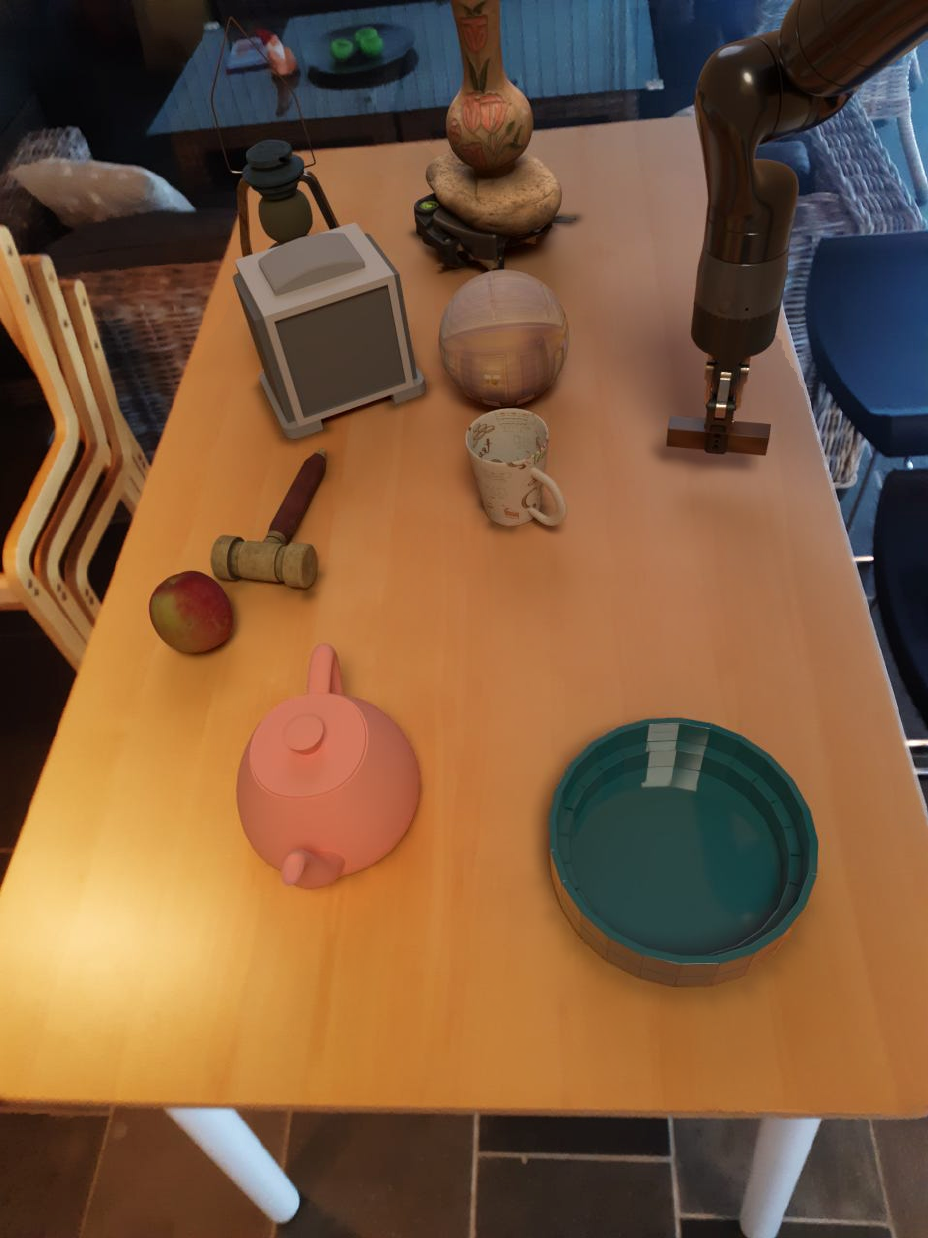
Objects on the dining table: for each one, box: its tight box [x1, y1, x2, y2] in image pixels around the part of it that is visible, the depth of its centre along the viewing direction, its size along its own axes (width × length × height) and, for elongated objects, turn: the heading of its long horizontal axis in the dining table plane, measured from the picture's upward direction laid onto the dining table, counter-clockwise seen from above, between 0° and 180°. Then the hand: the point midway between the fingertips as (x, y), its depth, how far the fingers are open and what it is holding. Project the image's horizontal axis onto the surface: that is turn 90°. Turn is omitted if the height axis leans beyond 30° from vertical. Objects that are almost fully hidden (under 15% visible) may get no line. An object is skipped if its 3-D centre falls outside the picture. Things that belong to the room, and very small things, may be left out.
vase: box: [413, 0, 577, 272], centre depth 116 cm, size 24×22×35 cm
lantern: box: [209, 16, 341, 257], centre depth 111 cm, size 14×12×35 cm
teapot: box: [235, 643, 421, 890], centre depth 70 cm, size 22×15×12 cm
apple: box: [148, 570, 234, 654], centre depth 85 cm, size 8×8×8 cm
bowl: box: [548, 717, 819, 988], centre depth 67 cm, size 19×19×6 cm
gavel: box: [209, 447, 327, 589], centre depth 96 cm, size 21×5×10 cm
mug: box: [464, 408, 568, 527], centre depth 90 cm, size 8×13×10 cm, turn 43°
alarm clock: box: [232, 221, 427, 440], centre depth 104 cm, size 18×13×18 cm
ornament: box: [438, 269, 570, 407], centre depth 101 cm, size 15×15×15 cm
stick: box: [665, 415, 772, 457], centre depth 90 cm, size 10×2×2 cm, turn 74°
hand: (716, 441), depth 91 cm, fingers closed on stick, 2 cm apart
